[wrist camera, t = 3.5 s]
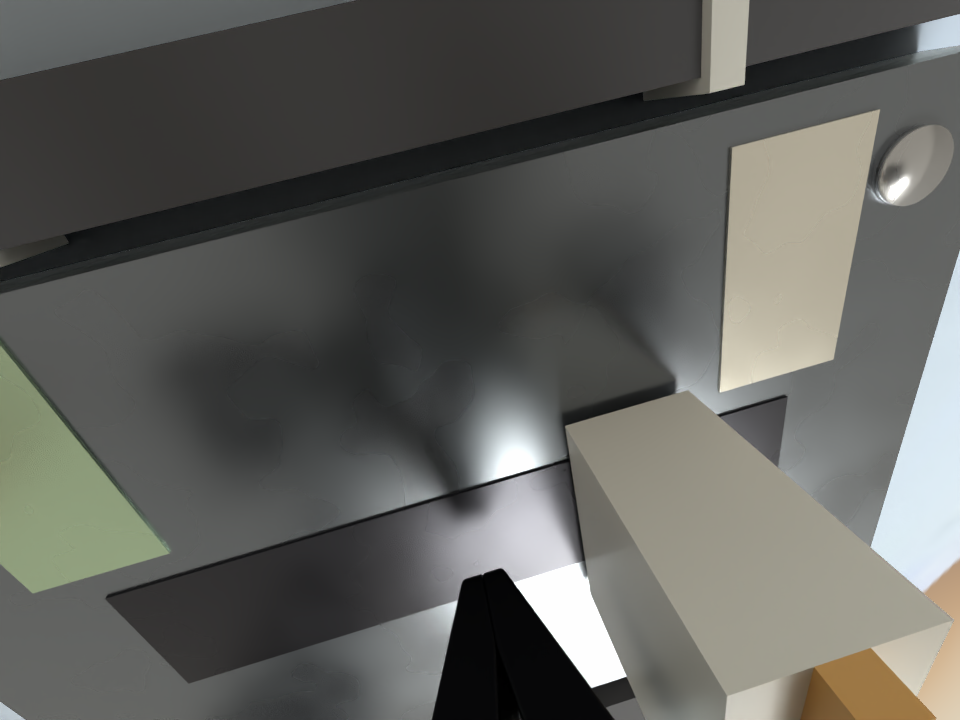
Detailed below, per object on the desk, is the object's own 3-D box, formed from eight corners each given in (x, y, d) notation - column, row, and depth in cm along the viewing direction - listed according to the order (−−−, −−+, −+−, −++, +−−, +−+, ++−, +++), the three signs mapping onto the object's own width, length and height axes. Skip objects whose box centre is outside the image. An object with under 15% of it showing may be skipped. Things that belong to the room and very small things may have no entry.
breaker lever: (686, 563, 11) (897, 871, 6) (590, 594, 11) (738, 932, 6) (688, 390, 8) (1029, 685, 4) (564, 425, 8) (773, 775, 4)
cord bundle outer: (924, 31, 8) (1057, 7, 6) (-290, 332, 7) (-499, 393, 5) (958, -124, 7) (1123, -199, 5) (-448, 194, 6) (-761, 217, 4)
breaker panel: (812, 559, 15) (858, 606, 13) (195, 757, 14) (172, 832, 12) (920, 51, 8) (1036, 34, 7) (-272, 349, 7) (-445, 407, 5)
